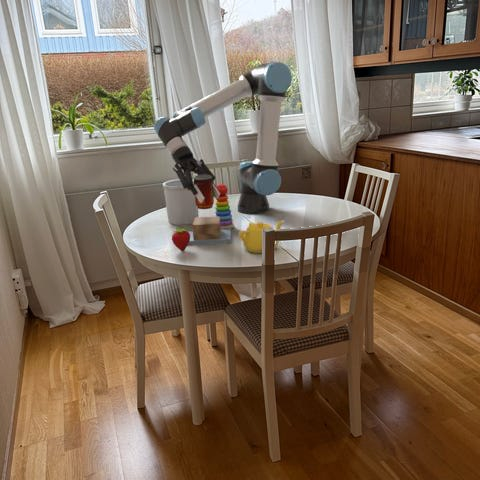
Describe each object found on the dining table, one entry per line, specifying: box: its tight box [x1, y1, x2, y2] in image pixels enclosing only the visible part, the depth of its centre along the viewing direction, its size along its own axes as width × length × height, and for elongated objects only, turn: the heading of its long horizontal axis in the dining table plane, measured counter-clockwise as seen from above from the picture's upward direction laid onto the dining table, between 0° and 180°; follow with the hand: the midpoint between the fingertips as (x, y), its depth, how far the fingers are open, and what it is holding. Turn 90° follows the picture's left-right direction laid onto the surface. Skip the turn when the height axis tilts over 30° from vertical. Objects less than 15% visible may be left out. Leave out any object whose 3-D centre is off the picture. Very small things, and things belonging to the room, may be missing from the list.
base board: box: [187, 229, 232, 246], centre depth 170 cm, size 18×12×2 cm, turn 90°
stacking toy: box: [214, 183, 235, 230], centre depth 179 cm, size 8×8×19 cm
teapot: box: [238, 219, 285, 254], centre depth 155 cm, size 14×13×10 cm
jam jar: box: [193, 174, 215, 210], centre depth 163 cm, size 7×7×12 cm
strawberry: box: [171, 225, 190, 252], centre depth 156 cm, size 6×8×10 cm
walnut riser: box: [191, 215, 221, 240], centre depth 168 cm, size 10×10×6 cm
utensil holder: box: [162, 178, 200, 226], centre depth 193 cm, size 15×15×18 cm
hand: (210, 198), depth 162 cm, fingers closed on jam jar, 7 cm apart
